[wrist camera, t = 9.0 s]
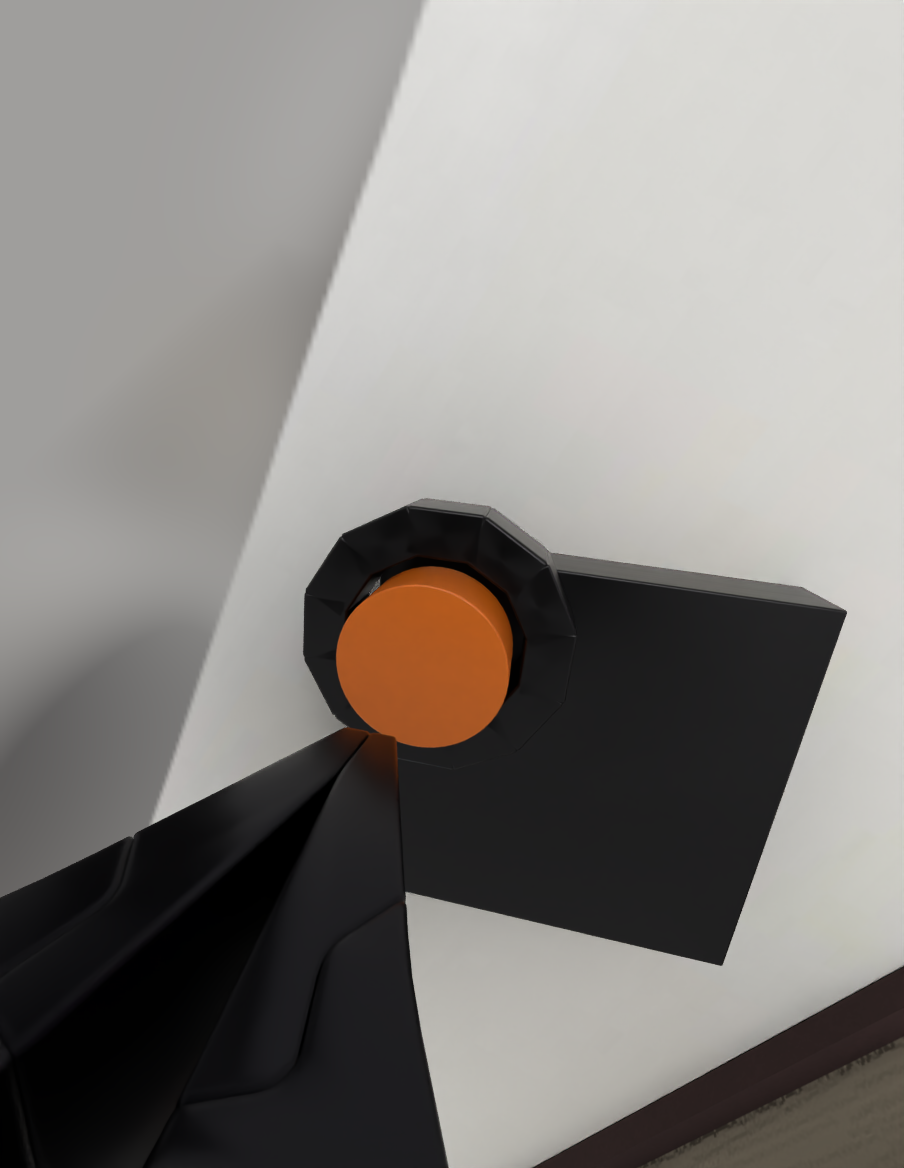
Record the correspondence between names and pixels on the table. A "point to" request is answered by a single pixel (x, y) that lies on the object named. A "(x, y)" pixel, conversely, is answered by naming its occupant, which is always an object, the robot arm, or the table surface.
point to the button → (427, 657)
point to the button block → (595, 730)
